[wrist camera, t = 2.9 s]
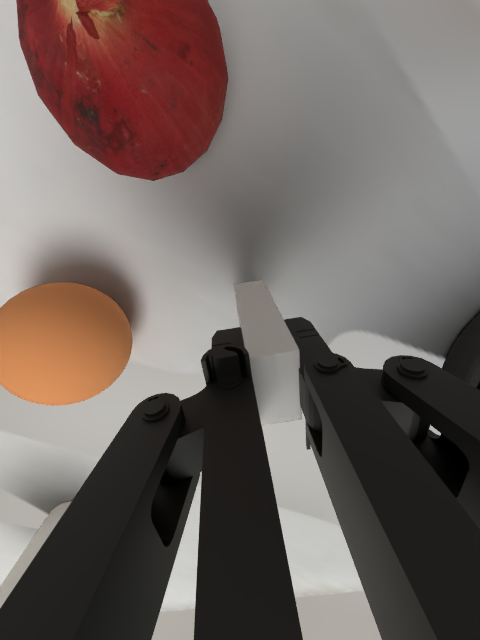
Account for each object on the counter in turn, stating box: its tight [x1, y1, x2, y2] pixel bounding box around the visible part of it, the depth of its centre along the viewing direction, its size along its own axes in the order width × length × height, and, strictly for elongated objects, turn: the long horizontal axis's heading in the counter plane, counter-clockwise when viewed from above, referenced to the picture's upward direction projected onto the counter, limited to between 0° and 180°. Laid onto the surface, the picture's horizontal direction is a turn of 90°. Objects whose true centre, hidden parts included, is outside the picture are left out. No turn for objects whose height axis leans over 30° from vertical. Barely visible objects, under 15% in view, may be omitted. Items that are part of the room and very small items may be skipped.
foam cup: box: [0, 501, 72, 608], centre depth 19 cm, size 10×9×13 cm
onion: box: [17, 0, 228, 181], centre depth 8 cm, size 6×6×8 cm
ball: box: [0, 282, 132, 405], centre depth 13 cm, size 6×6×6 cm
